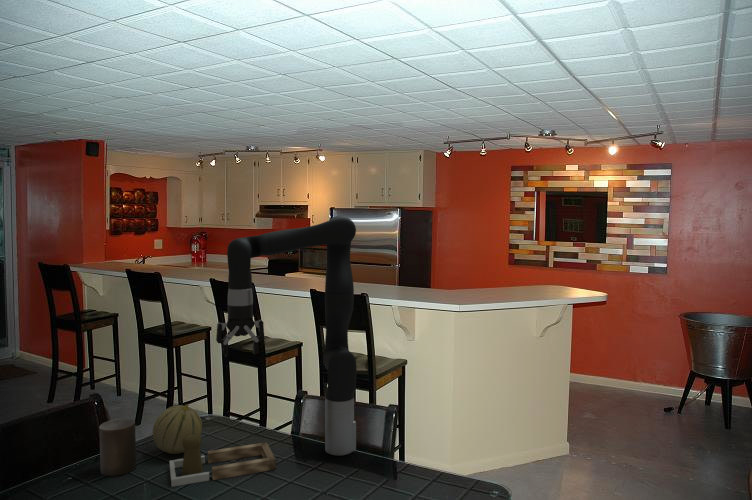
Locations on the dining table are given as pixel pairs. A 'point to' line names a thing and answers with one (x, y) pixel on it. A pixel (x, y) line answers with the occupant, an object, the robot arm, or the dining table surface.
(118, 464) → the pillar candle
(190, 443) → the olive gourd
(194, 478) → the grey u-shaped staple
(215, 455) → the oak channel
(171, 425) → the cantaloupe
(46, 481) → the dining table surface
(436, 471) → the dining table surface
